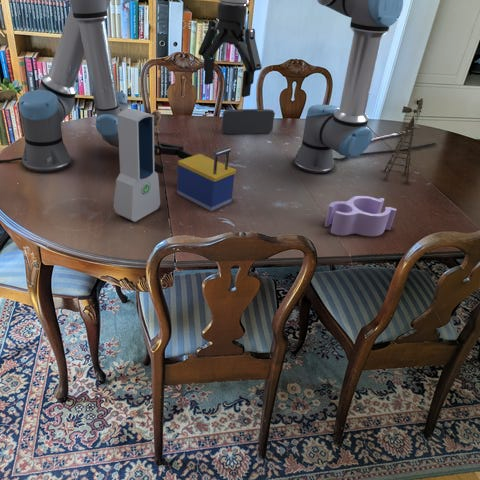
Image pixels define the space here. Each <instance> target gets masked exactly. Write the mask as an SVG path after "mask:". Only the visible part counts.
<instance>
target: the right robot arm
mask: <svg viewBox="0 0 480 480" xmlns="http://www.w3.org/2000/svg"><path fill="white" fill-rule="evenodd" d="M316 1H317V3H318V4H319V5H321V6H324V7H327V8H329V9H330V10H333V11H335V12H337V13H339V14H340V15H342V16H345V17H348V18H351V19H350V23H349V24H350V25H349V28H350V29H351V31H352V40H351V46H350V51H349V57H348V62H347V67H346V72H345V77H344V81H343V88H342V94H341V99H340V103H339V106H336V105H332V104H313V105H311V106H309V107H308V109H307V113H306V116H305V121H304V127H303V134H302V141H301V145H300V147H299V148H298V150H297V152H296V154H295V156H294V159H293V165H294V166H295V167H296V168H297V169H298V170H300V171H303V172H306V173H310V174H317V175H323V174H329V173H331V172H332V171H333V170H334V166H335V161H339V162H341V161H345V160H347V159H354V158H357V157H362V156H370V155H377V154H387V153H393V152H394V151H395V149H396V148H395V149H388V150H387V149H386V150H377V151H369V152H366V150H367V149H368V147H369V146H370V145H371V143H372V142H371V139H373V132H372V130H371V129H370V128H369V127H368V123H369V116H368V115H367V113H366V112H367V106H368V102H369V97H370V94H371V93H370V92H371V88H372V84H373V79H374V75H375V69H376V65H377V61H378V56H379V52H380V48H381V43H382V39H383V36H385V35H387V33H388V32H389V30H390V27H391V26H392V25H394V24H395V23H396V22H398V19H399V18H400V16H401V14H402V12H403V7H404V0H316ZM218 2H219V3H218V4H217V15H216V17H217V19H213V20H212V19H211V20H208V24H207V25H208V26H207V30H206V32H205V35H204V37H203V40H202V42H201V45H200V47H199V49H198V51H197V53H198V55H199V56H201V57H202V58H203V71H204V81H203V83H204V85H205V86H207V85H211V84H214V73H215V72H214V71H215V70H214V69H215V58H214V56H215V55H216V53H217V52H218V51H219V49H220V48H221V47H222V46H223V44H229V45H231V46H234V48H235V49H236V50H237V52H238V55H239V56H240V59H241V61H242V63H243V66H244V68H245V70H243V72H242V73H243V75H242V83H241V85H242V86H241V94H240V95H241V98H247V97H250V96H251V89H252V85H253V84H254V82H255V81H254V80H255V73H256V71H261V70H262V69H263V68H262V62H261V58H260V55H259V50H258V46H257V42H256V30H255V28H246V23H247V21H248V11H249V8H248V6H247V4H248V3H249V0H218ZM217 32H218V33H217ZM434 142H435V143H432V142H431V143H432V144H428V143H424V144H420V145H415V146H412V148H411V150H414V149H420V148H424V147H428V146H432V145H436V143H437V142H436V141H434ZM398 149H399V148H397V151H398ZM404 151H408V147H403V148H402V147H401V149H400V151H399V152H404ZM334 152H336V153H338V154H339V155H340V156H343V157H340V158H338V157H334Z"/></svg>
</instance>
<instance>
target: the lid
mask: <svg viewBox="0 0 480 480" xmlns="http://www.w3.org/2000/svg"><path fill="white" fill-rule="evenodd" d="M231 151H232V149H231V147H229V146H226V147H224V148H221V149H218V150H215V151H213V152H212V156H213V158H210V157H208V156H206V155H204V154H202V153H197V154H194V155H193V156H191V157H188V158H185V159H180V160H177V166H178V165H180V166H182V167H184V168H187V169H189V170H191V171H193V172H195V173H197V174H199V175H201V176H203V177H205V178H207V179H210V180H212V181H214V182H216V181H218V180H221V179H223V178H225V177H228V176H230V175H233V174H234V175H235V174H236V173H237V169H235V168H233V167H231V166H229V161H230V160H229V158H230V153H231ZM224 155H225V160H224V163H223V162H220V161H218V157H221V156H224Z"/></svg>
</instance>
